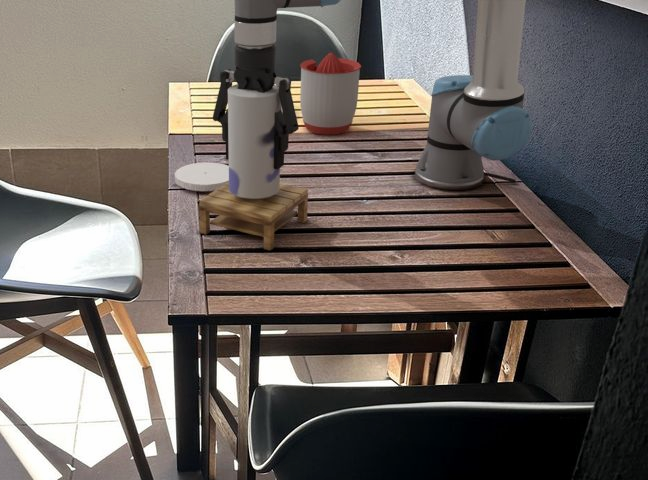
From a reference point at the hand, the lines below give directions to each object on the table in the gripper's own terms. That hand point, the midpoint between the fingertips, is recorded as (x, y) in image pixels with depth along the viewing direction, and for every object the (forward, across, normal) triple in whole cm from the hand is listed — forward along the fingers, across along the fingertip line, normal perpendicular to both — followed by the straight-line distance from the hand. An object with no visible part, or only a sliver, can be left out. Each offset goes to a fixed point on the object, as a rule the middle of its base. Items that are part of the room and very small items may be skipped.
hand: (254, 162), depth 157 cm
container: (+6, 0, 0) cm, 6 cm away
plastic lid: (+14, +21, -15) cm, 29 cm away
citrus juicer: (+14, +14, -65) cm, 68 cm away
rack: (+14, 0, 0) cm, 14 cm away
